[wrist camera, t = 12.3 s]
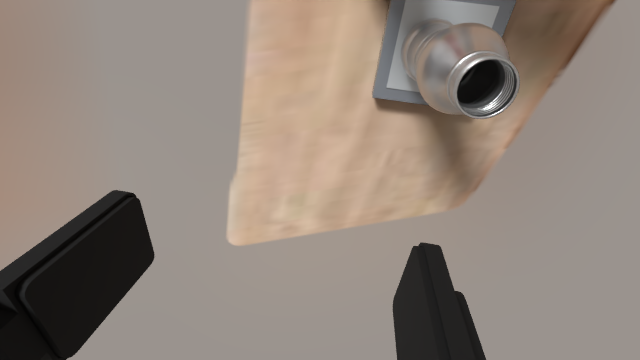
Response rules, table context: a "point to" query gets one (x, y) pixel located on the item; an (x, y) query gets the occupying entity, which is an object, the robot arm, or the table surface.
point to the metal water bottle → (460, 68)
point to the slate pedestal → (406, 12)
